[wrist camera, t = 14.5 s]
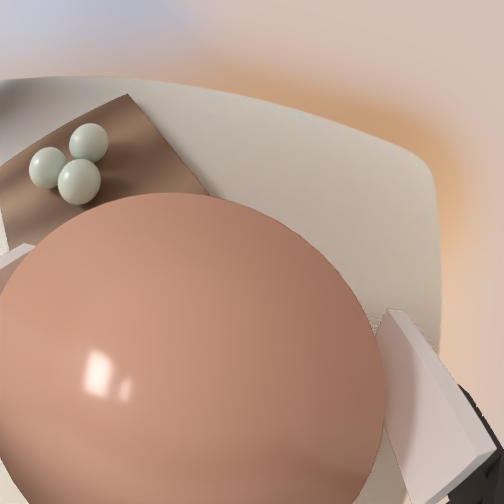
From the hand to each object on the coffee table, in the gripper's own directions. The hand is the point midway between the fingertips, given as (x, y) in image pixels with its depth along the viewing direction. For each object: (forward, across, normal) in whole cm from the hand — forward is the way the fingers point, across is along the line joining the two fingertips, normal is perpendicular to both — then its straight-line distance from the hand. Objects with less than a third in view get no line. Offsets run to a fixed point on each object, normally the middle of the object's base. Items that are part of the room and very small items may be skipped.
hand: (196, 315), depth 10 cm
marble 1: (+9, -13, +3) cm, 16 cm away
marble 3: (+9, -10, +2) cm, 13 cm away
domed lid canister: (+2, 0, -6) cm, 6 cm away
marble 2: (+11, -11, +4) cm, 16 cm away
